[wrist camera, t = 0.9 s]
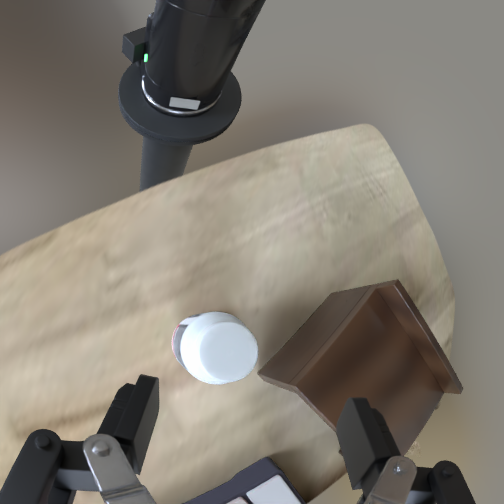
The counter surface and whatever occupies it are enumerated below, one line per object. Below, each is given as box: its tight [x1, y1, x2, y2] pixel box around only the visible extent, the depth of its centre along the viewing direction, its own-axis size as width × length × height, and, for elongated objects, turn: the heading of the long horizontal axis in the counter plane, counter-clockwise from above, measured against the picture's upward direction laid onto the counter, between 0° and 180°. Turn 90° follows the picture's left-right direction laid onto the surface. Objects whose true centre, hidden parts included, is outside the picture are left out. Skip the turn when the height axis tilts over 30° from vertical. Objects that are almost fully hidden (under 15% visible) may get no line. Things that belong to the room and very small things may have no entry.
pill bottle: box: [172, 312, 258, 384], centre depth 24 cm, size 5×5×10 cm
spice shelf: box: [257, 279, 463, 456], centre depth 27 cm, size 16×12×10 cm
